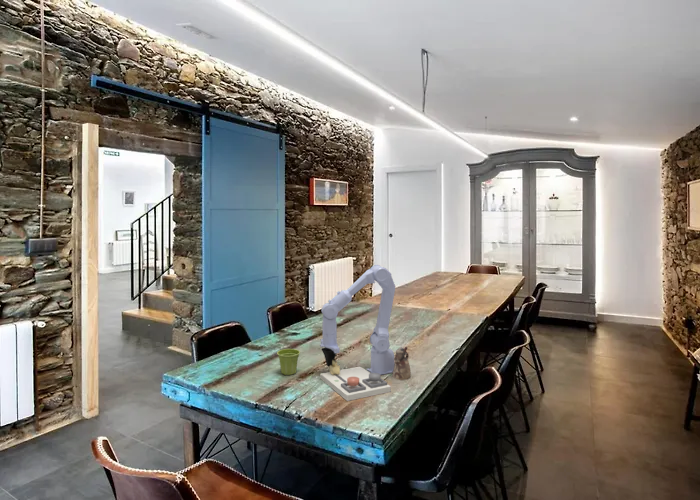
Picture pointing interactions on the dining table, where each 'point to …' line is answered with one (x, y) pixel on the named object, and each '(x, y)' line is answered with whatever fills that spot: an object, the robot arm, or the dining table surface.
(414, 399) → the dining table surface
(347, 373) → the control board
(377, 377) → the grey button
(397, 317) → the dining table surface
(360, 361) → the dining table surface
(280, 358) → the plant pot
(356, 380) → the red button
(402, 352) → the figurine
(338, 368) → the brass slider
